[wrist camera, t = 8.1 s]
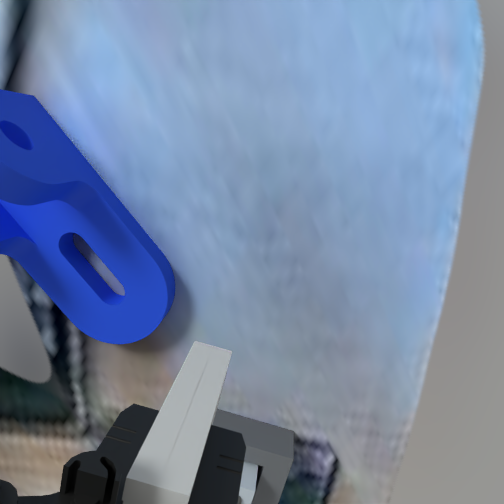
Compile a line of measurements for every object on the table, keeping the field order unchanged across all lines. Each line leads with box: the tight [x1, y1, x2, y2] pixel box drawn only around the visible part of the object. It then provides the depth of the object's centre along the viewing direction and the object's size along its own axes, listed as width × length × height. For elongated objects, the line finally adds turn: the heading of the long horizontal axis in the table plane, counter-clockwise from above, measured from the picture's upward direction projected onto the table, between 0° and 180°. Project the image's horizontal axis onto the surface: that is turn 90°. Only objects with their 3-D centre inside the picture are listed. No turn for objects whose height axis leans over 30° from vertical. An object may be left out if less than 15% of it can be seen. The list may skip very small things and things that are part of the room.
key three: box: [237, 461, 258, 504], centre depth 31 cm, size 5×5×4 cm
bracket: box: [0, 90, 175, 344], centre depth 26 cm, size 18×8×9 cm, turn 37°
